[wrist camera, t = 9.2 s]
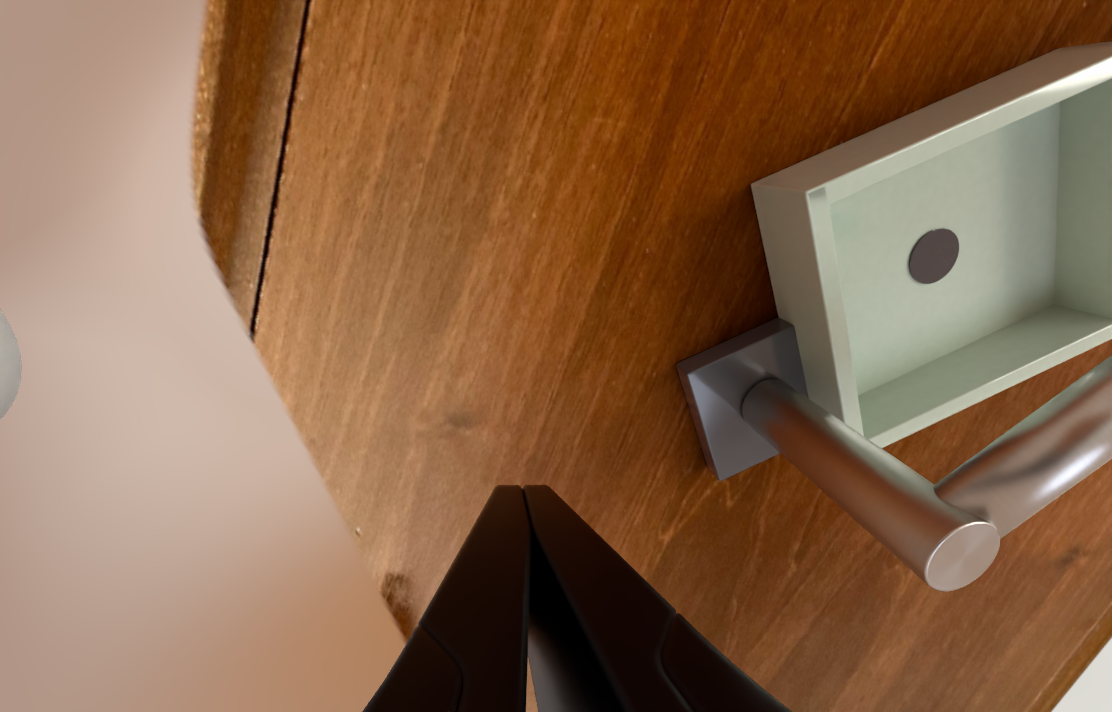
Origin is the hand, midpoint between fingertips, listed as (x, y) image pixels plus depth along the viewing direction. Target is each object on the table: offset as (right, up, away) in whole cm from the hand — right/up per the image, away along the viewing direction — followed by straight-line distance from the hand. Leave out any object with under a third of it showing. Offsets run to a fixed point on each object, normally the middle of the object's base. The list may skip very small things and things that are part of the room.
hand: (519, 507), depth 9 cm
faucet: (+14, +4, +15) cm, 21 cm away
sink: (+14, +6, +15) cm, 22 cm away
